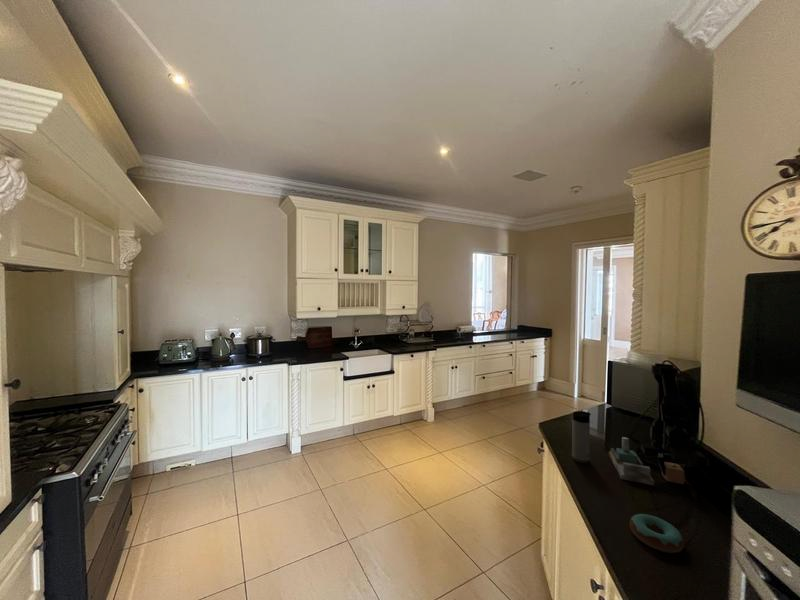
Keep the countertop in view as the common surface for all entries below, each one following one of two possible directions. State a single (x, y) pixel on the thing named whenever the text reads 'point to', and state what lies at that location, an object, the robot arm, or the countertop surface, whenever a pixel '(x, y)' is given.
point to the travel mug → (580, 436)
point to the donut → (656, 533)
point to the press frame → (631, 469)
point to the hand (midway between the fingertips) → (672, 476)
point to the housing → (674, 473)
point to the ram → (626, 452)
